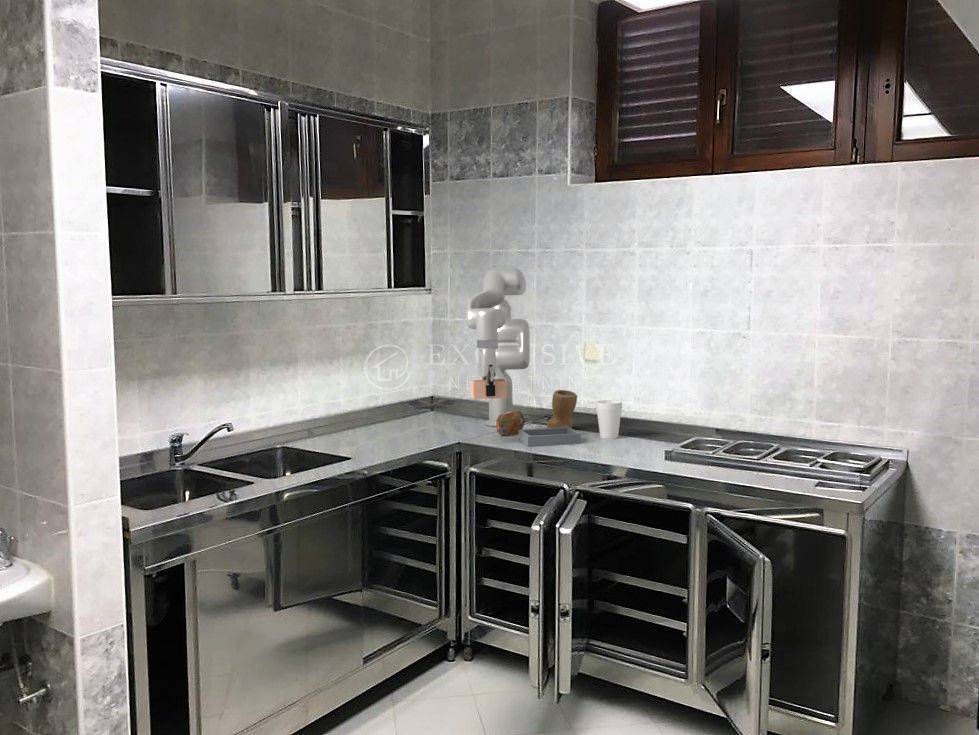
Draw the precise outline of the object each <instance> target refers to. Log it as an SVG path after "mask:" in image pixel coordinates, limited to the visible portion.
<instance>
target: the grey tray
mask: <svg viewBox="0 0 979 735" xmlns="http://www.w3.org/2000/svg"><path fill="white" fill-rule="evenodd" d="M517 434H518V435H517V436H518V441H520V442H521V443H523V444H524V445H526V447H531V448H532V447H545V446H547V447H549V446H560V445H562V446H563V445H574V444H575V445H578V444H581V443H582V434H581V433H580V432H579V431H578V430H575V429H573V428H572V427H571V428H570V427H559V428H547V427H546V428H545V427H542V428H530V429H529V428H527V429H524V428H523V429H522V430H518V433H517Z"/></svg>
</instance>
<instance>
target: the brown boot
mask: <svg viewBox="0 0 979 735" xmlns="http://www.w3.org/2000/svg"><path fill="white" fill-rule="evenodd" d="M551 400H552V401H551V408H552V414H553V415H552V416H553V417H552V418H550V420H548V422H547V424H546V428H559V427H570V428H572V427H573V425H574V421H573V420H572V417H573V414H574V411H575V409H576V407H577V400H578V394H577V393H576V392H573V391H570V390H566V389H558V390H554V392H553V394H552V399H551Z"/></svg>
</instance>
